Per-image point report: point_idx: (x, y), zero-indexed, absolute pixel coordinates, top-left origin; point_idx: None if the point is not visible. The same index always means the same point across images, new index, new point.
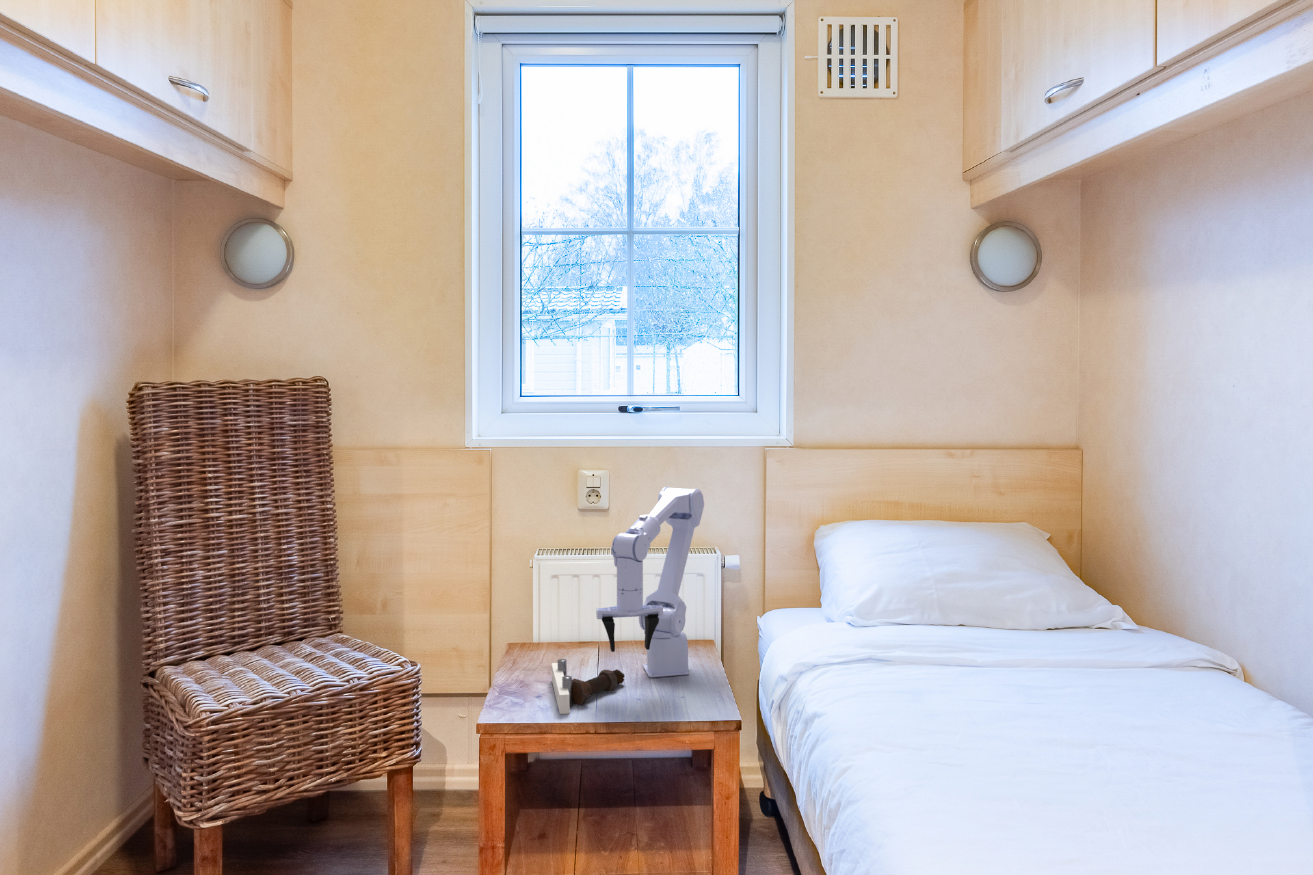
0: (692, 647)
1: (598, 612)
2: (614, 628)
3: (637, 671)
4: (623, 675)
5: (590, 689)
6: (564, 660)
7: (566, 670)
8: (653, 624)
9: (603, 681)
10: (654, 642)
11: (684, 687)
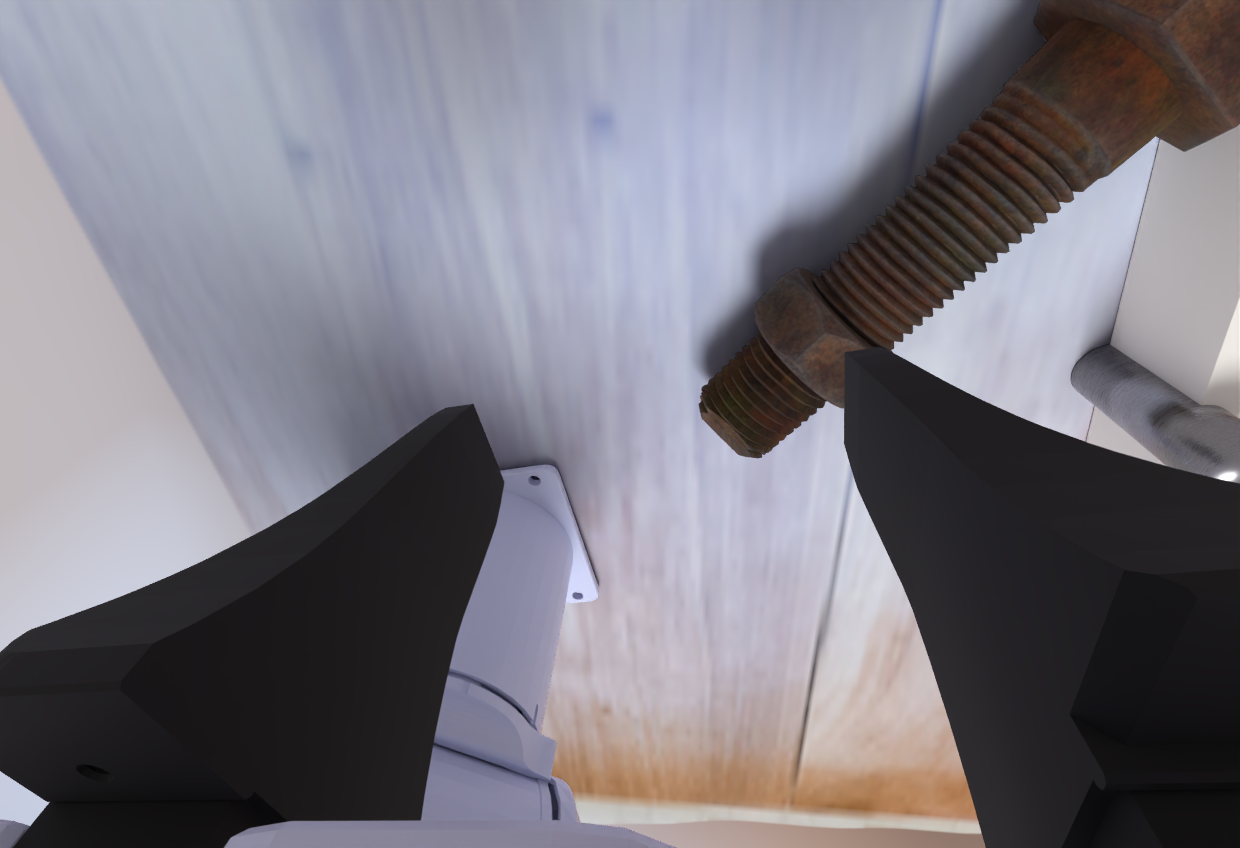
0: None
1: None
2: (1021, 509)
3: (625, 545)
4: (707, 400)
5: (1018, 90)
6: (1225, 474)
7: (1148, 424)
8: (147, 606)
9: (877, 250)
10: (479, 648)
11: (333, 324)
